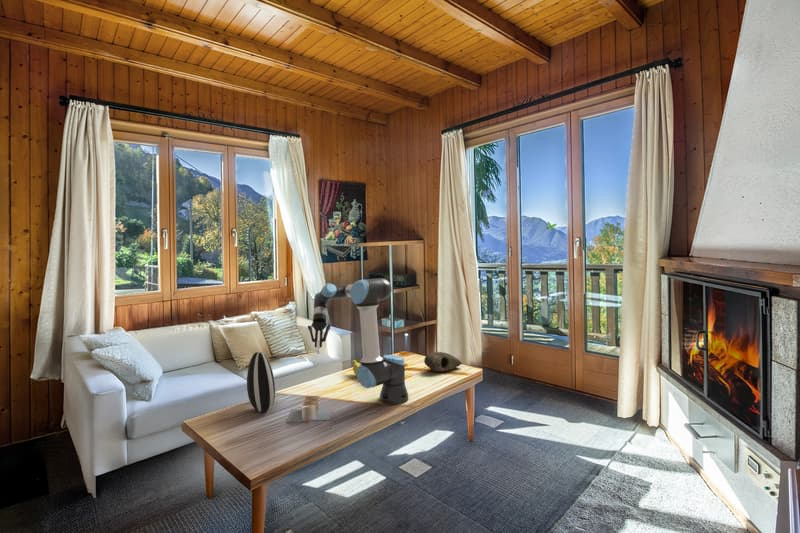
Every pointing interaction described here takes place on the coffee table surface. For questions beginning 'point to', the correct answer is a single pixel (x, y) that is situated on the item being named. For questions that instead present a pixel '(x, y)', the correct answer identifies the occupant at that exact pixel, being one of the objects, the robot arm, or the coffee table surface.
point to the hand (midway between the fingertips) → (317, 352)
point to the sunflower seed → (260, 383)
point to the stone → (441, 361)
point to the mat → (320, 416)
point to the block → (310, 408)
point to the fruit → (355, 366)
